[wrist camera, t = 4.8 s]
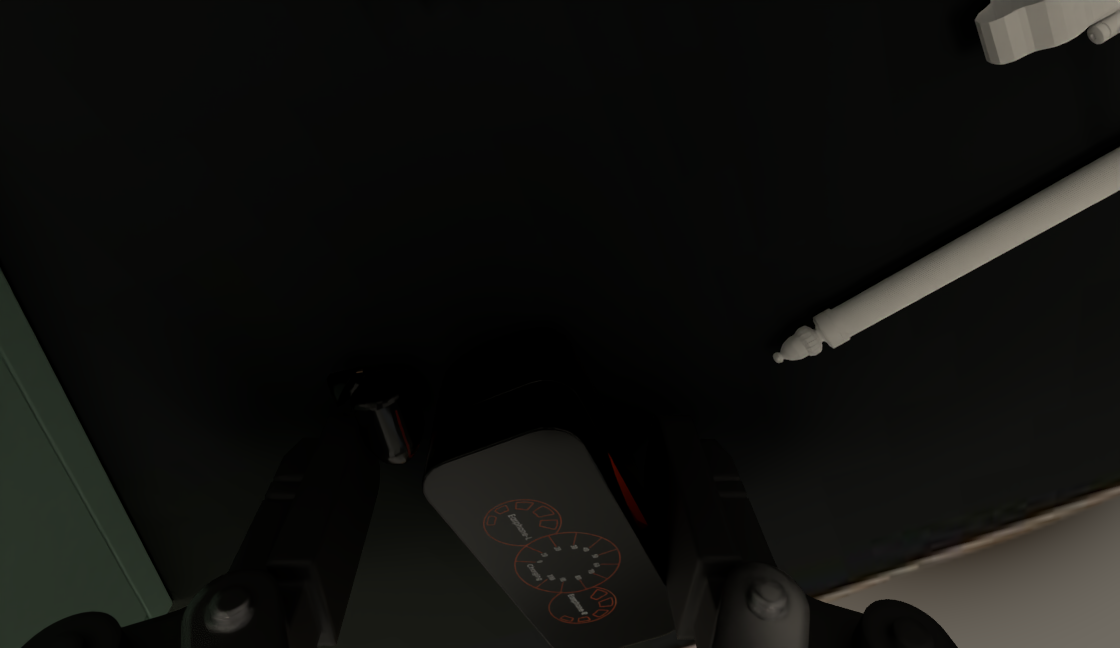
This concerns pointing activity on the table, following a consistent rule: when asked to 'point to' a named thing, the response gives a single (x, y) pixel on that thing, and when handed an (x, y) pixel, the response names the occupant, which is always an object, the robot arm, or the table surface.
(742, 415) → the table surface
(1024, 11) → the picture light
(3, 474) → the storage box
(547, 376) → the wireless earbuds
